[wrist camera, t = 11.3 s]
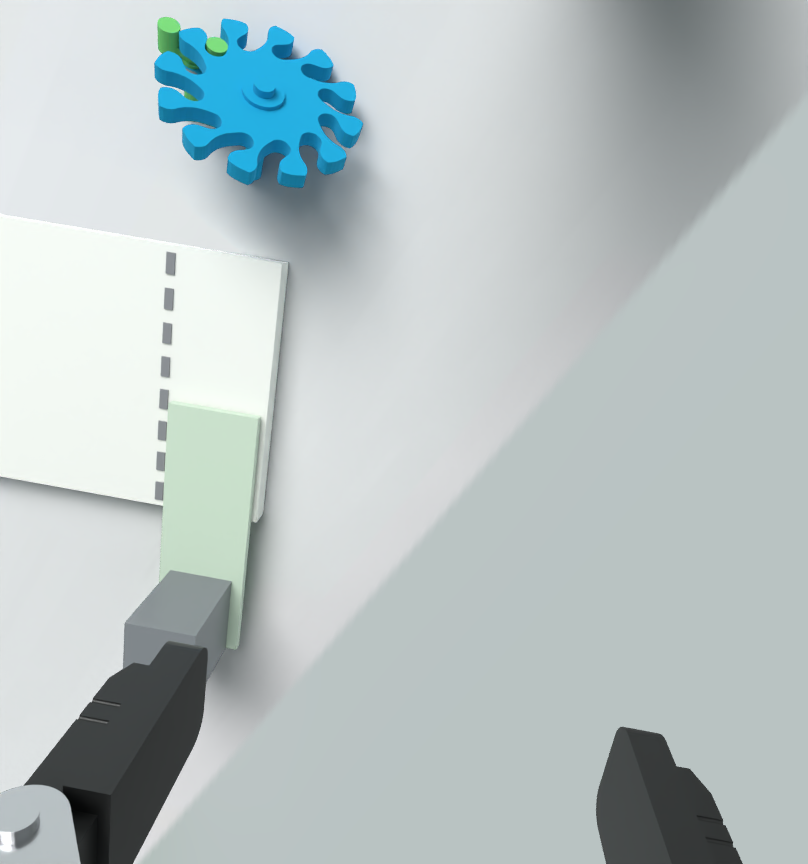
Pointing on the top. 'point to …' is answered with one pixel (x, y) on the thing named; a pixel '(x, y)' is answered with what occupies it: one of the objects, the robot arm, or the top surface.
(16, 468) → the ticket board
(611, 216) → the top surface
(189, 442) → the stub
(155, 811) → the robot arm
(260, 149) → the gear
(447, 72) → the top surface
